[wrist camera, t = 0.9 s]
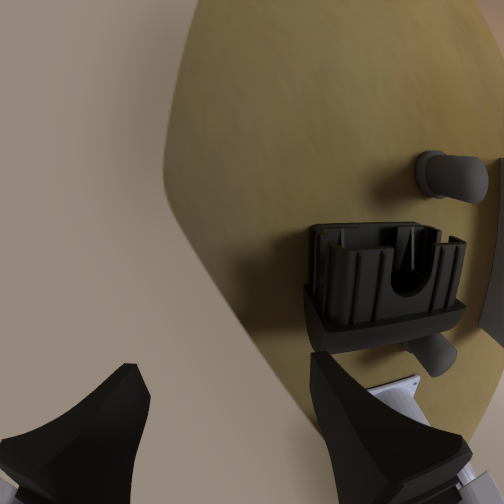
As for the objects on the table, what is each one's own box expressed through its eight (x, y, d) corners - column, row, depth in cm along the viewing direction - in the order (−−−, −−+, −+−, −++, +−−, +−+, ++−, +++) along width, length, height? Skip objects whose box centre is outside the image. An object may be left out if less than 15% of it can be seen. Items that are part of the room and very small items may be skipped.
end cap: (299, 317, 20) (321, 377, 14) (301, 224, 18) (332, 256, 12) (410, 303, 21) (454, 346, 14) (423, 221, 18) (481, 246, 12)
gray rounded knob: (447, 196, 18) (489, 208, 13) (415, 197, 18) (457, 209, 13) (446, 152, 17) (490, 154, 12) (413, 149, 17) (457, 149, 12)
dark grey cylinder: (426, 342, 22) (452, 372, 17) (397, 351, 22) (421, 384, 17) (434, 311, 21) (464, 339, 16) (403, 318, 21) (432, 351, 16)
